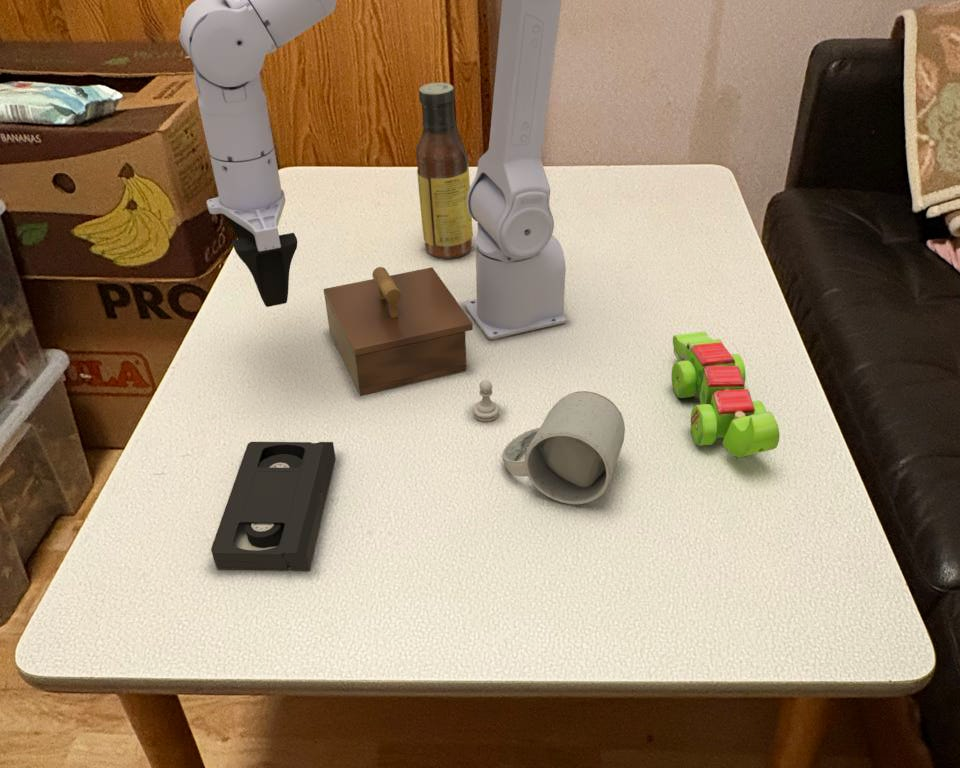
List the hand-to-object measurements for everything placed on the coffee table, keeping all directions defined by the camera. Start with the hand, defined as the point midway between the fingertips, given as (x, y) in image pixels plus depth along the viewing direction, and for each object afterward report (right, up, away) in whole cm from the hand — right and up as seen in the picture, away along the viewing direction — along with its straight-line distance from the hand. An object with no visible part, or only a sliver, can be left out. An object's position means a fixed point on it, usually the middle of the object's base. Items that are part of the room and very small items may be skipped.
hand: (268, 284), depth 90 cm
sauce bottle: (+17, +10, +26) cm, 33 cm away
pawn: (+22, -13, 0) cm, 25 cm away
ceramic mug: (+28, -19, -7) cm, 35 cm away
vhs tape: (+3, -22, -10) cm, 24 cm away
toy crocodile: (+44, -13, 0) cm, 46 cm away
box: (+12, -5, +9) cm, 16 cm away
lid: (+12, -2, +5) cm, 13 cm away
